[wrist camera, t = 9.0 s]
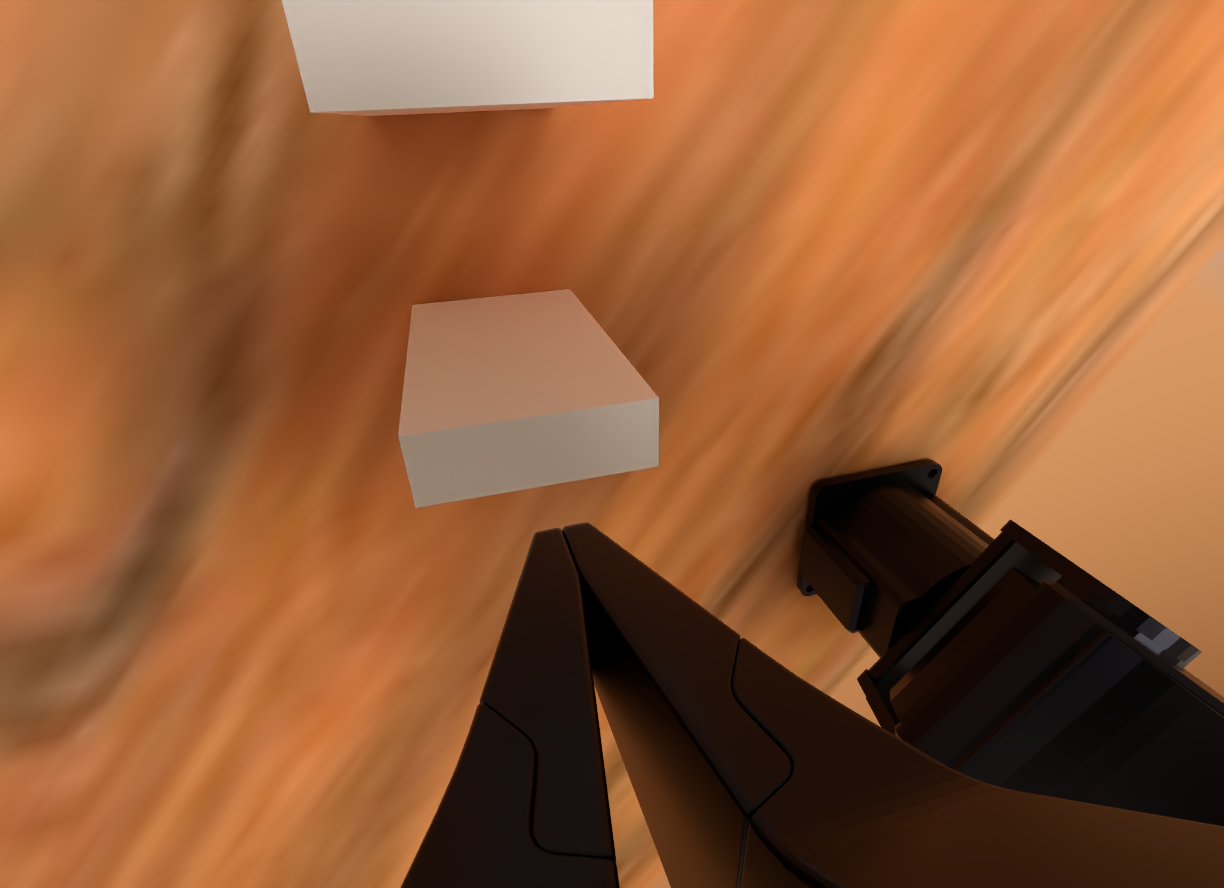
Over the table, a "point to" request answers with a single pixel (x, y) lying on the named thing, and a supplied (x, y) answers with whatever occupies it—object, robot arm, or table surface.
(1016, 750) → the robot arm
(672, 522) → the table surface
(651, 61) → the domino
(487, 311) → the domino
